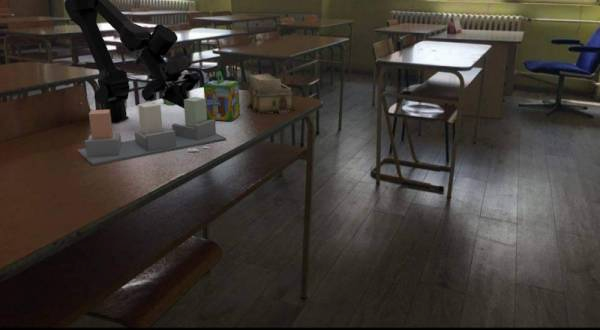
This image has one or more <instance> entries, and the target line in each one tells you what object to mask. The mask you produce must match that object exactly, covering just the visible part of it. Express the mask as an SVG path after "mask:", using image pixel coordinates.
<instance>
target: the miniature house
mask: <svg viewBox="0 0 600 330" xmlns="http://www.w3.org/2000/svg"><path fill="white" fill-rule="evenodd" d="M248 92H249V100H248V104H247V105H246V109H247V108H253V109H251V113H252V112H255V113H257V112H259V113H267V114H269V113H268V112H279V113H281V112H287V111H289V110H293V109H291V108H294V109H295V107H294V105H293V103H292V96H293V95H294V93H293V92H292V88H291V87H288V86H287V85H286V84H283V83H282V79H280V78H276V77H274V76H272V75H271V74H270V73H263V74H261V73H260V74H259V73H258V74H250V75H249V88H248ZM256 111H257V112H256ZM289 112H290V111H289ZM259 113H258V114H259ZM279 113H278V114H279ZM290 113H291V112H290Z"/></svg>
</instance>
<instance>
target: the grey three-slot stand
mask: <svg viewBox="0 0 600 330" xmlns="http://www.w3.org/2000/svg"><path fill="white" fill-rule="evenodd" d="M216 125H217V124H216V120H207V121H206V122H203V123H200V124H197V125H194V127H190V126H186V124H185V125H184V124H178V123H173V124H172V126H171V128H172V129H171V130H167V129H165V128H164V127H162V129H163V132H160V133H154V134H148V135H145V134H143V133H142V132H141V130H135V131H134V139H132V140H131V139H130V140H126V141H122V137H121V132H116V133H114V136H113V138H111V139H95V140H92V134H89V136H88V139H85V140H84V145H85V148H79V149H77V152H78V154H80V156H82V157H83V158H84V157H85V158H86V159H87V162H88V163H90V164H91V165H92V166H99V165H104V164H109V163H113V162H120V161H124V160H129V159H134V158H141V157H145V156H146V157H147V156H150V155H156V154H162V153H166V152H170V151H175V150H182V149H186V148H193V147H196V146H202V145H207V144H212V143H213V144H214V143H218V142H224V141H226V140H227V137H225V136H224V135H223V136H222V135H221V134H219V133H217V129H216V128H217V127H216ZM85 158H84V159H85Z"/></svg>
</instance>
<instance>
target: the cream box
mask: <svg viewBox="0 0 600 330" xmlns="http://www.w3.org/2000/svg"><path fill="white" fill-rule="evenodd" d="M137 106H138V107H137V108H138V116H139V126H140V132H142V133H143V134H145V135H148V134H154V133H160V132H163V129H162V128H163V119H162V107H161V106H162V105H161V104H160V103H157V102H154V101H153V102H148V103H140V104H137Z"/></svg>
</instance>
